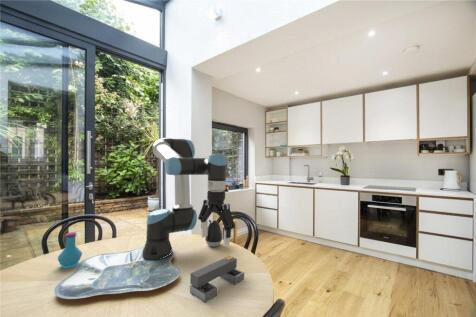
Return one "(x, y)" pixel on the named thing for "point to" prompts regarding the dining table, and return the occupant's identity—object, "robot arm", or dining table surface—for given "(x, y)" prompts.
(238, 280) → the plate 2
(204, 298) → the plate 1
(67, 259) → the perfume bottle
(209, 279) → the grey rectangular bar
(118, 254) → the dining table surface
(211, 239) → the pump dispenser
